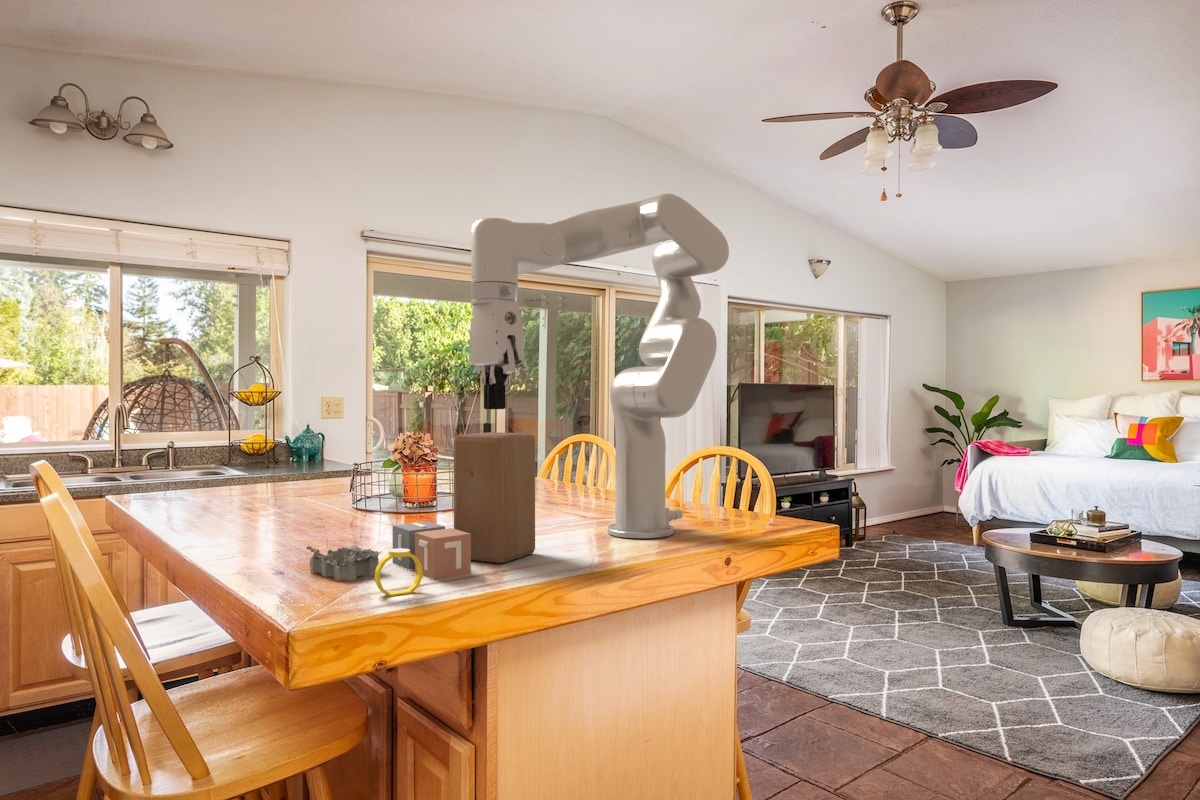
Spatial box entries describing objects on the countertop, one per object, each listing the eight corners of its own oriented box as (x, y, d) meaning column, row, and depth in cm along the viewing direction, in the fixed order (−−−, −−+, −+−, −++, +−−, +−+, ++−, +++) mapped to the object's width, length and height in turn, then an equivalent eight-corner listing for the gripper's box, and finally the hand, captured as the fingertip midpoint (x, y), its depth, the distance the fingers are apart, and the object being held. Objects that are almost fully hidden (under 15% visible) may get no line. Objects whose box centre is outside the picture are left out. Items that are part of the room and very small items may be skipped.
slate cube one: (427, 558, 121) (427, 520, 121) (445, 565, 116) (445, 525, 116) (391, 563, 117) (391, 524, 117) (408, 570, 112) (408, 529, 112)
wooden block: (451, 559, 120) (451, 434, 120) (488, 548, 129) (488, 431, 129) (502, 565, 115) (502, 436, 115) (537, 553, 124) (537, 433, 124)
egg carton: (303, 572, 112) (303, 545, 112) (349, 564, 118) (349, 538, 118) (338, 584, 105) (338, 555, 105) (386, 575, 111) (386, 547, 111)
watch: (416, 591, 102) (419, 547, 102) (423, 596, 99) (426, 550, 99) (372, 594, 99) (375, 548, 99) (377, 599, 96) (380, 552, 96)
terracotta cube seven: (451, 567, 115) (451, 528, 115) (471, 574, 110) (471, 533, 110) (413, 573, 111) (413, 532, 111) (432, 581, 106) (432, 539, 106)
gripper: (539, 293, 119) (539, 409, 119) (490, 302, 130) (490, 408, 130) (499, 289, 114) (499, 410, 114) (452, 299, 125) (452, 408, 125)
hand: (494, 408), depth 122 cm, fingers closed
